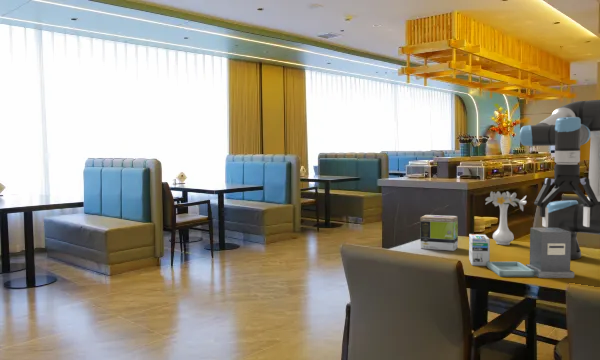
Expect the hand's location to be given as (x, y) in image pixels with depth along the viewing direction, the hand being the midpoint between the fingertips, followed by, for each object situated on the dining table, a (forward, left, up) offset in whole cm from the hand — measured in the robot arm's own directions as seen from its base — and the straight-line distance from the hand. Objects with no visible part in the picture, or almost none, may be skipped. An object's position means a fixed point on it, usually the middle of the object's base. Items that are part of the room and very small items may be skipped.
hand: (565, 226), depth 172 cm
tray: (+13, -14, -19) cm, 27 cm away
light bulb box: (+20, -28, -19) cm, 40 cm away
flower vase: (-4, -69, -19) cm, 72 cm away
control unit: (0, -11, -19) cm, 22 cm away
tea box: (+29, -58, -19) cm, 68 cm away
